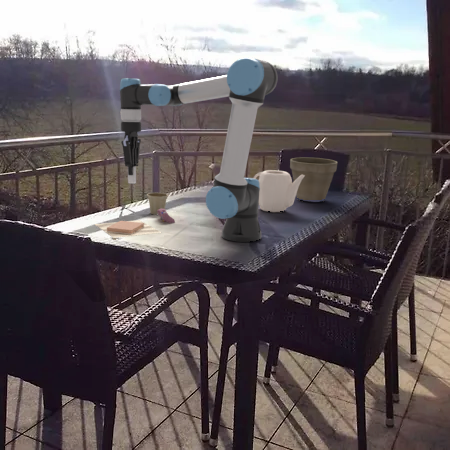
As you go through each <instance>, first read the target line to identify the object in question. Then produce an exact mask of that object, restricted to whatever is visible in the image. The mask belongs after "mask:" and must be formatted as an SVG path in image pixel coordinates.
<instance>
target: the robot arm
mask: <svg viewBox="0 0 450 450" xmlns="http://www.w3.org/2000/svg"><path fill="white" fill-rule="evenodd" d="M278 79H279V78H278V72H277V70H276V67H274V65H273V64H272V63H270V62H268V61H267V60H261V59H258V58H255V57H242V58H239V59H237V60H235V61H234V62H232V64H231V65H230V66H229V68H228V71H227V73H226V74H225V75H221V76H216V77H210V78H204V79H200V80H193V81H189V82H188V81H187V82H183V83H182V82H181V83H177V84H173V85H172V84H171V85H168V84H167V85H166V84H161V83H154V84H153V83H151V84H149V83H147V84H144V83H142V82H141V79H140V78H131V77H130V78H128V77H127V78H126V77H125V78H121V80H120V83H119V95H120V96H119V97H120V98H119V99H120V112H119V114H120V120H121V122H120V131H121V132H123V133H124V136H123V137H124V139H123V140H121V146H122V151H123V159H124V166H125V167H127V181H128V182H127V183H128V184H134V185H135V184H137V167H139V159H140V147H141V138H139V134H138V133H140V132H142V122H141V120H142V106H156V107H162V106H163V107H165V106H167V107H169V106H171V107H178V106H182V105H185V104H193V103H196V102H202V101H208V100H214V99H215V100H216V99H221V98H227V97H228V98H229V101H231V110H230V114H229V115H230V116H229V120H228V124H227V125H228V126H227V130H226V131H227V132H226V137H225V142H224V148H223V154H222V160H221V164H220V171H219V173H218V174H215V176H214V180H213V184H212V187H211V188H210V189H209V190H208V192H207V193H206V196H205V205H206V208H207V209H208V211H209V213H210V214H211V215H212V216H214V218H215V217H216V218H218V219H222V220H225V219H226V220H225V222H224V225H223V227H222V230H221V237H222V238H223V239H225V240H227V241H230V242H231V241H232V242H239V243H251V242H250V241H253V242H256V240H258V241H260V240H261V239H262V230H261V226H260V221H259V207H260V206H259V191H260V183H259V179H257V178H256V179H253V178H254V177H245V175H246V170H247V164H248V159H249V153H250V149H251V144H252V140H253V139H252V138H253V133H254V129H255V124H256V118H257V113H258V109H259V108H260V107H261V106H262V105H264V101H265V96H266V95H269V94H270V93H272V92H273V91H274V89H275V88H276V87H277V83H278ZM259 239H260V240H259Z"/></svg>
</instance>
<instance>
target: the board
mask: <svg viewBox="0 0 450 450" xmlns="http://www.w3.org/2000/svg"><path fill="white" fill-rule="evenodd" d="M117 222H118V221H115V222H104V223H95V224H94V225H95V226H96V227H97V228H99V229H100V230H101V231H103V232H104V233H106V234H107V235H108V236H111V237H110V238H111V239H112V240H113V241H114V240H115V241H116V239H118V240H120V238H127V237H135V236H145V235H153V234H162V232H161V231H160V230H158V229H156V228H154V227H152V226H151V225H149V224H147V223H146V222H144V221H142V220H138V219H137V220H128V222H138V223H144V227H143V228H141V229H140V230H138V231H136V232H135V233H133V234H124V233H115V232H107V227H109V226H111V225H113V224H115V223H117Z"/></svg>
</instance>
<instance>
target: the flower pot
mask: <svg viewBox="0 0 450 450" xmlns="http://www.w3.org/2000/svg"><path fill="white" fill-rule="evenodd" d="M146 196H147V199H148V203H149V204H148V205H149V212H150V214H151V215H154V216H157V214H158V212H157V210H159V209H161V208H162V209H165V210H166V203H167V199H168V196H169V194H168V193H164V192H149V193H147V194H146Z"/></svg>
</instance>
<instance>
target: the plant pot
mask: <svg viewBox="0 0 450 450" xmlns="http://www.w3.org/2000/svg"><path fill="white" fill-rule="evenodd" d="M289 161H290V162H289V163H290V165H289V168H290V169H291V173H292V174H291V175H292V181H293V182H294V181H295V180H296V179H297V178H298V177H299V176H300V175H305V176H304V178H303V179H302V180H301V183H300V185H299V187H298V190H297V193H296V198H299V199H303V200H322V199H325V200H326V198H327V195H328V191H329V189H330V187H331V183H332V181H333V178H334V174H335V173H336V172H337V170H338V169H337V168H338V161H337V160H333V159H329V158H322V157H321V158H320V157H294V158H293V157H292V158H290V160H289Z"/></svg>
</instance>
